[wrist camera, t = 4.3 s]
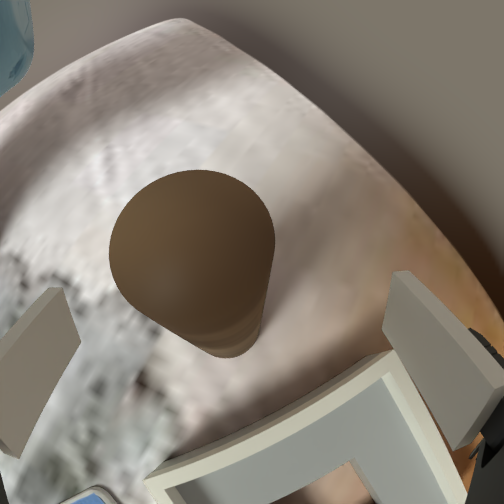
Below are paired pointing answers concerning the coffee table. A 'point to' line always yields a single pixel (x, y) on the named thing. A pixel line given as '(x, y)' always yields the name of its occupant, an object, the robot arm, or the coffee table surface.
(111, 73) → the coffee table surface
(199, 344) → the peg
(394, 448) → the tray
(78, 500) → the blue rectangular panel
